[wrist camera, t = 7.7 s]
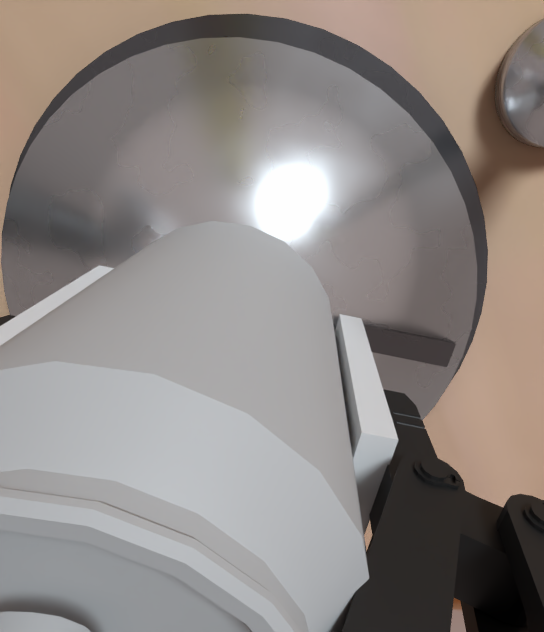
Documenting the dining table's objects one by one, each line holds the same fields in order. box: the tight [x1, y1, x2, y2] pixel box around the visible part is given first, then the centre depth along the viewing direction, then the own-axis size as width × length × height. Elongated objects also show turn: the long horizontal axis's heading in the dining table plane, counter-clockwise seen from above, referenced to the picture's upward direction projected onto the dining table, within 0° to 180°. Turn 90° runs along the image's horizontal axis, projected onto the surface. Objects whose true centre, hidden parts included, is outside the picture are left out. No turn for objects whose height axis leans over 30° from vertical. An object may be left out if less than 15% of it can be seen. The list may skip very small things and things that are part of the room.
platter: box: [1, 37, 477, 420], centre depth 16 cm, size 18×18×6 cm
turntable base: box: [9, 14, 488, 379], centre depth 19 cm, size 20×20×1 cm
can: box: [0, 221, 369, 632], centre depth 11 cm, size 8×8×12 cm
